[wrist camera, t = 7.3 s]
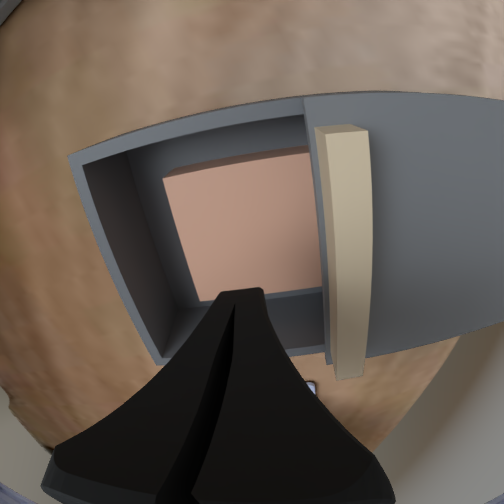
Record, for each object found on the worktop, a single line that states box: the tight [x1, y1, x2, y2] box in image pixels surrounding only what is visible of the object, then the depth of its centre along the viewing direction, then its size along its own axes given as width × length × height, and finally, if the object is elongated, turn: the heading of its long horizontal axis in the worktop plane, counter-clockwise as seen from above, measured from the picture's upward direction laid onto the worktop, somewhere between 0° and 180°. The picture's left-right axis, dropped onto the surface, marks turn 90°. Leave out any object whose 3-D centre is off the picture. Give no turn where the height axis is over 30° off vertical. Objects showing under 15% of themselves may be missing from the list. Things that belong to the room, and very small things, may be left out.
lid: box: [301, 92, 504, 381], centre depth 10 cm, size 12×14×2 cm
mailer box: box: [68, 91, 419, 365], centre depth 15 cm, size 12×14×5 cm
